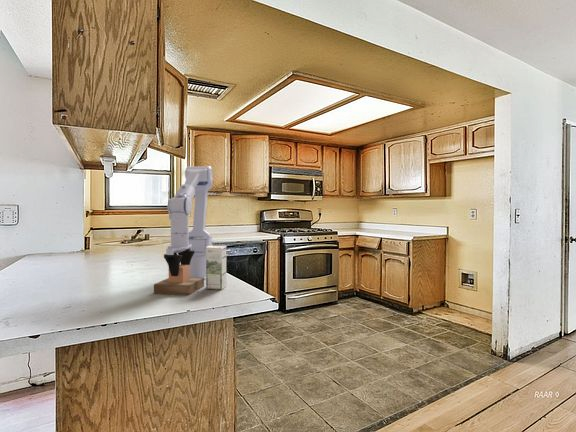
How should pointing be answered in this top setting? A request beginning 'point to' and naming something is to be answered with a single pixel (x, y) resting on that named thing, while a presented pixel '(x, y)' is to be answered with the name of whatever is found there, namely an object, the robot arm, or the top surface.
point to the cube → (181, 274)
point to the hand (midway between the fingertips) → (179, 273)
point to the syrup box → (216, 267)
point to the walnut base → (179, 286)
